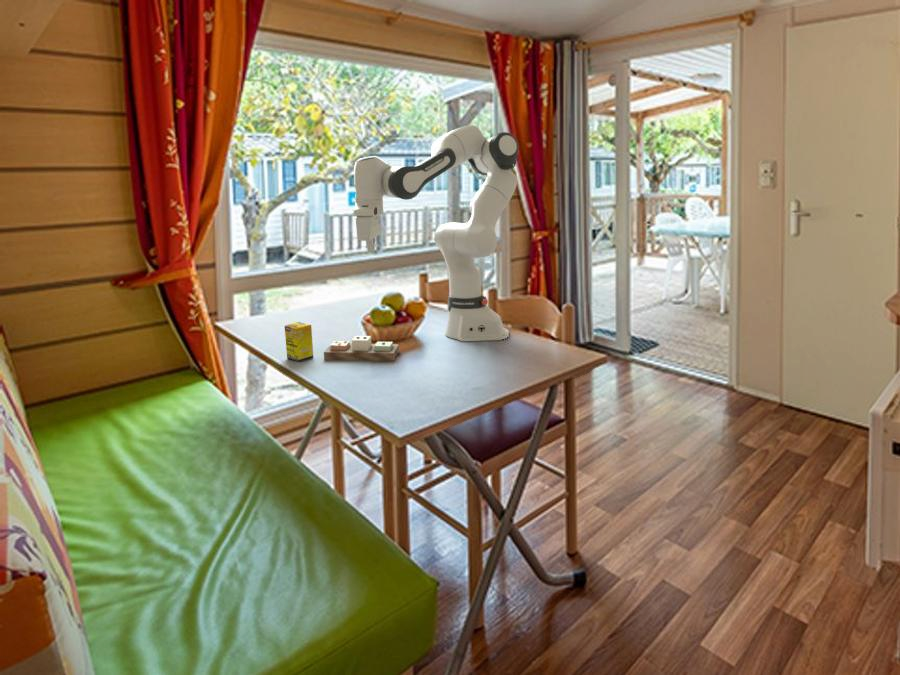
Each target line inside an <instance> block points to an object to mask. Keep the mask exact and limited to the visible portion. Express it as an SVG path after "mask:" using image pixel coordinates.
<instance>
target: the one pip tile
mask: <svg viewBox="0 0 900 675" xmlns="http://www.w3.org/2000/svg"><path fill="white" fill-rule="evenodd" d="M374 344H375V346H374V351H391V350H392V349H393V344H394V343H393V341H376V342H375V343H374Z"/></svg>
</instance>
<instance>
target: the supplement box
mask: <svg viewBox="0 0 900 675" xmlns="http://www.w3.org/2000/svg"><path fill="white" fill-rule="evenodd" d="M312 332H313V331H312V325H311V324H309V323H303V322H301V321H297V322H294V323H293V322H292V323H289V324H286V325H284V337H285V347H286V348H285V349H286V359H287V360H291V361H293V362H294V361H295V362H298V363H301V362H304V361H307V360H310V359H313V358H314V345H313V333H312Z"/></svg>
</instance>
